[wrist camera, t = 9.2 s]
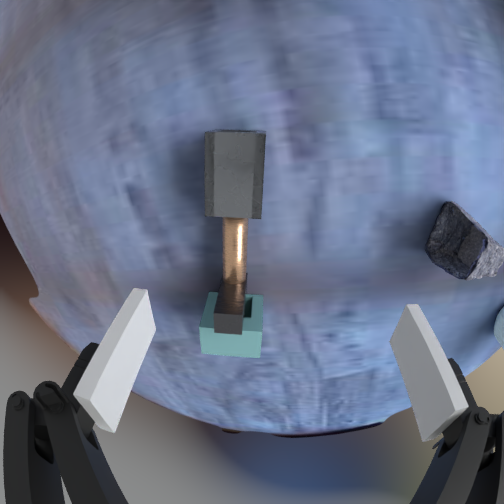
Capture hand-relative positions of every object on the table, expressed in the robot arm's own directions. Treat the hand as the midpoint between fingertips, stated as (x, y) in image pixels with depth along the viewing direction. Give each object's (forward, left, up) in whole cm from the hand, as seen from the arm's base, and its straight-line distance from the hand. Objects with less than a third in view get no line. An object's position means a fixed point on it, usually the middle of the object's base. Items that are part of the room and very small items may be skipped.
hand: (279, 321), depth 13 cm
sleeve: (-3, -4, -24) cm, 24 cm away
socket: (+18, -4, -24) cm, 30 cm away
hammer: (+9, -4, -22) cm, 24 cm away
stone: (+3, +29, -24) cm, 38 cm away
